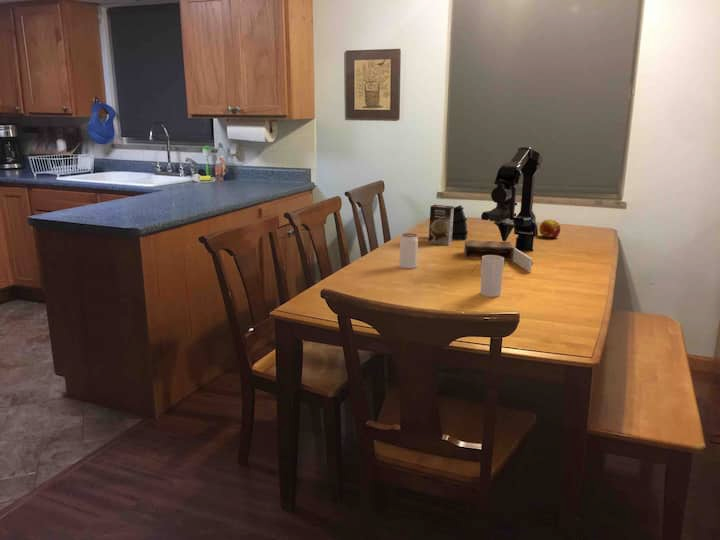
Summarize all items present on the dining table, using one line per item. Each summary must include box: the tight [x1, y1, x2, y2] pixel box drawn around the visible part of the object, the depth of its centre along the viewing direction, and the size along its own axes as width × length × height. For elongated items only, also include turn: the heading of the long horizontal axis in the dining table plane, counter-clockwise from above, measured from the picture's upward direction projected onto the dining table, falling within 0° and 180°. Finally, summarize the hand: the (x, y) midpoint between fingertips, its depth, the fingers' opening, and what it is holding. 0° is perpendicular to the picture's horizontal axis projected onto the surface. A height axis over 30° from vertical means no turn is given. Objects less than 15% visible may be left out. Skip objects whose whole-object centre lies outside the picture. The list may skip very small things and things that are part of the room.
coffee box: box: [428, 204, 455, 246], centre depth 261 cm, size 9×6×16 cm
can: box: [398, 232, 419, 270], centre depth 222 cm, size 6×6×12 cm
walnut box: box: [464, 239, 514, 261], centre depth 241 cm, size 18×10×5 cm, turn 82°
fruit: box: [539, 219, 561, 239], centre depth 277 cm, size 10×9×8 cm
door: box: [511, 247, 534, 273], centre depth 227 cm, size 17×2×5 cm, turn 7°
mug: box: [479, 255, 505, 298], centre depth 190 cm, size 10×7×12 cm, turn 170°
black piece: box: [452, 204, 469, 241], centre depth 272 cm, size 4×13×15 cm, turn 66°
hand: (504, 241), depth 229 cm, fingers closed
